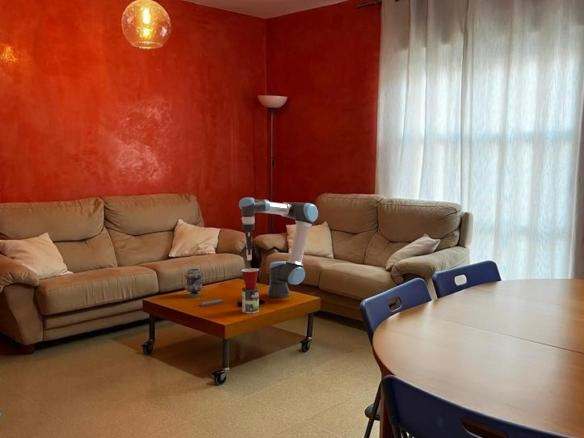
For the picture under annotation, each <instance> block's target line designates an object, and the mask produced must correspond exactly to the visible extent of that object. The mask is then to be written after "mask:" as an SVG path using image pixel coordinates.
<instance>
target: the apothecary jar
mask: <svg viewBox="0 0 584 438" xmlns="http://www.w3.org/2000/svg"><path fill="white" fill-rule="evenodd" d="M203 276H204V275H203V272H201V269H200V268H188V269H187V272H185V274H184V277H185V278H186V285H185V287H184V289H185V291H186V292H189V293H188V294H187V295H186V297H187V298H199V297H201V296H202V293H200V291H203V288H204V286H203V284H202V277H203Z"/></svg>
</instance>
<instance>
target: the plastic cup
mask: <svg viewBox="0 0 584 438" xmlns="http://www.w3.org/2000/svg"><path fill="white" fill-rule="evenodd" d="M259 270H260V268H251V267H250V268H243V269H241V272H242V276H243V281H244V287H246V289H248V290H252V289H255V288H256V287H257V286H256V285H257V281H258V274H259Z"/></svg>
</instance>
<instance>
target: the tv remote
mask: <svg viewBox="0 0 584 438" xmlns="http://www.w3.org/2000/svg"><path fill="white" fill-rule="evenodd" d="M218 304H219V305H220V304H224V300H222V299H216V300H209V301H203V302H199V304H198V305H199V306H200V307H201V308H202V307H209V306H214V305H218Z"/></svg>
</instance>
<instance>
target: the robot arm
mask: <svg viewBox="0 0 584 438" xmlns="http://www.w3.org/2000/svg"><path fill="white" fill-rule="evenodd" d="M238 207H239V209H240V210H241V216H242V217H241V218H240V220H241V222H242V224H241V227H242V230H243V231H246V232H245V233H244V234H245V240H246V242H245V246H246V248H245V250H246V257H247V258H246V260H247V261H252V259H253V255H252V252H253V251H252V240H253V239H252V238H253V232H252V231H254V230H255V228H256V226H255V223H256V222H255V214H256V213H264V214H271V215H280V216H281V217H285V218H289V219H293V220H294V222H295V224H296V225H295V231H294V235H293V239H292V244H291V249H290V252H289V253H290V254H289V258H288V260H285V261H284V260H283V261H282V260H279V261H273V262H272V261H271V263H270V264H269V286H268V289H267V292H266V294H267V297H269V298H272V299H273V298H275V299H282V298H284V299H285V298H288V297H289V296H290V295H291V292H290V289H289V287H288V284H290V285H299V284H300V283H302V282H303V281H304V279H305V277H306V271H305V269H304V264H303V258H304V254H305V248H306V244H307V241H308V234H309V230H310V227H311V226H313V223H314V222H315V221H316V220H317V219H318V217H319V211H318V208H317V206H316V205H315V204H313V203H310V202H298V201H297V202H294V201H293V202H285V201H283V202H282V203H281V202H276V201H275V202H273V201H269V200H268V199H255V198H254V197H243V198H242V199H240V200H239V202H238Z"/></svg>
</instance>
